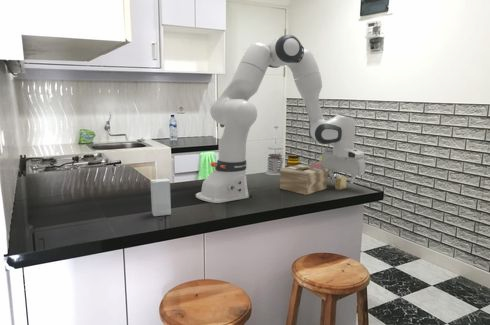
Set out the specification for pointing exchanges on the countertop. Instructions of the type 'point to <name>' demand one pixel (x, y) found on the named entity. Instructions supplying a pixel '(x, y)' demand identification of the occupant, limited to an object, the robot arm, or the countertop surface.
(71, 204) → the countertop surface
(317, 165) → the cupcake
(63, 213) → the countertop surface
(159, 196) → the skincare box
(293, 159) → the condiment
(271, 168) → the french press
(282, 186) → the box
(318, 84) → the robot arm
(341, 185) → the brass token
